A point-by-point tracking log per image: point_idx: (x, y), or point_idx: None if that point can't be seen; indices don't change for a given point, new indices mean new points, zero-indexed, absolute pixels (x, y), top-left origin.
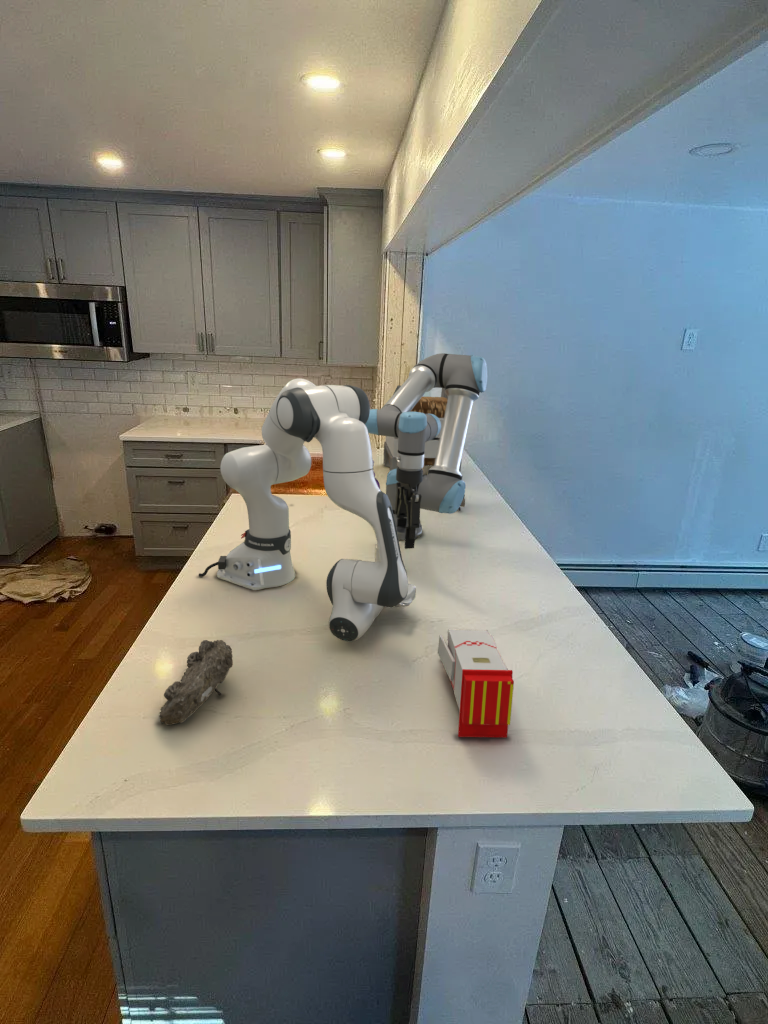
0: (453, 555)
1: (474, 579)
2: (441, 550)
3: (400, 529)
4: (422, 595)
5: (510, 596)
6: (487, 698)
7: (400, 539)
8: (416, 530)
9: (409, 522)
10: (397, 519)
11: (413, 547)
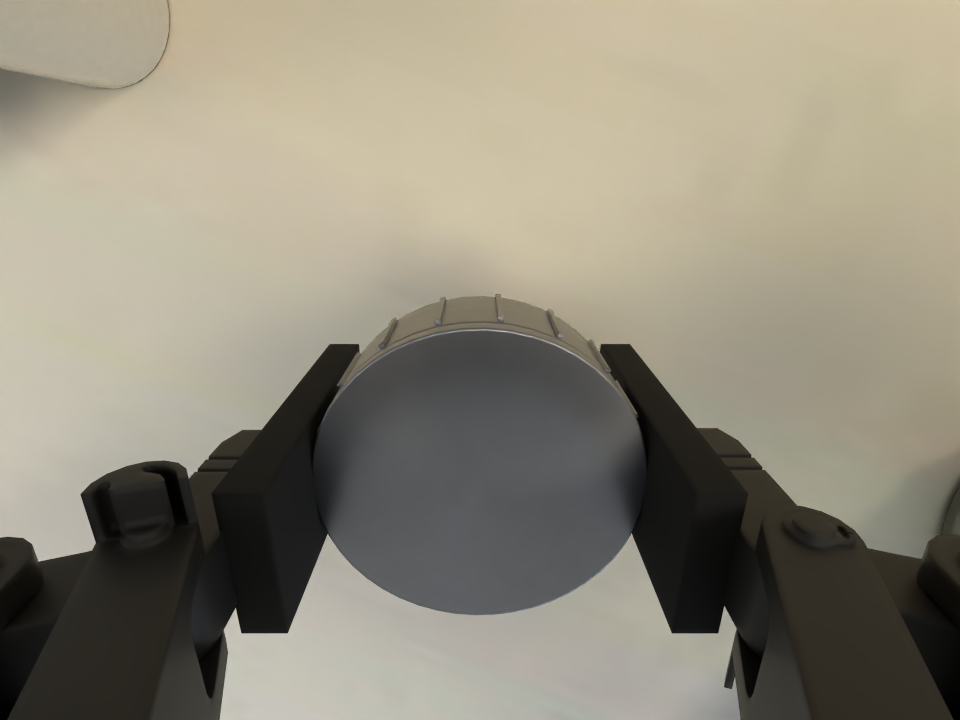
0: (624, 652)
1: (319, 631)
2: None
3: (497, 413)
4: (152, 305)
5: None
6: None
7: (379, 334)
8: (409, 600)
9: (70, 621)
10: (738, 484)
11: None
